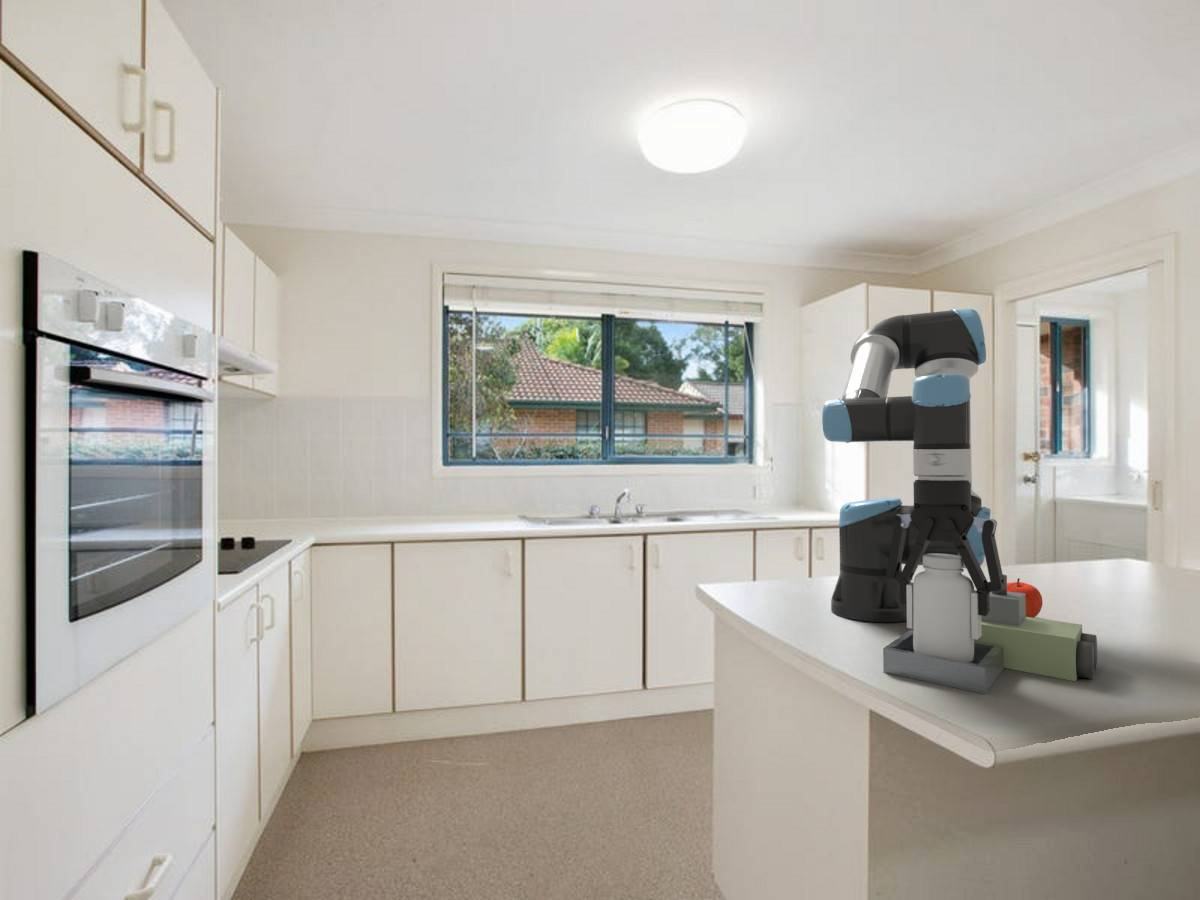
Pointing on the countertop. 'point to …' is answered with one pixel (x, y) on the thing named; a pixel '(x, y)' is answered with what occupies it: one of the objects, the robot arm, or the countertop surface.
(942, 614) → the pill bottle
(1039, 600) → the apple
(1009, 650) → the green roller box
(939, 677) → the grey square tray
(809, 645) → the countertop surface
